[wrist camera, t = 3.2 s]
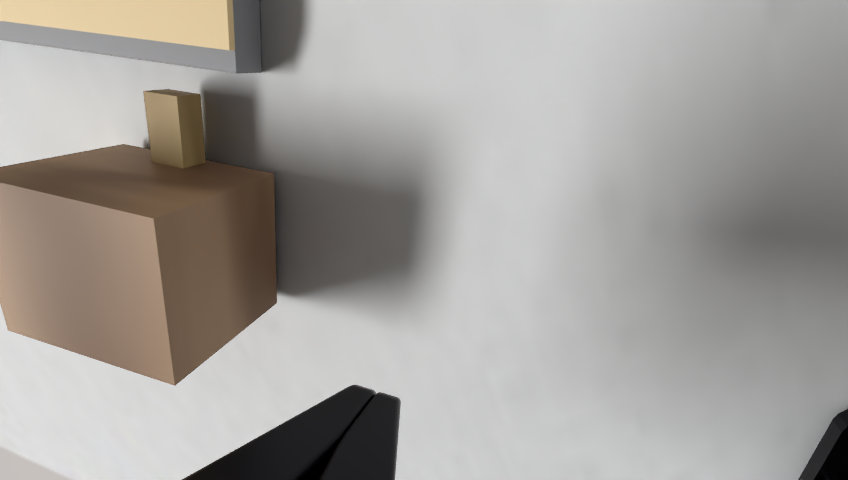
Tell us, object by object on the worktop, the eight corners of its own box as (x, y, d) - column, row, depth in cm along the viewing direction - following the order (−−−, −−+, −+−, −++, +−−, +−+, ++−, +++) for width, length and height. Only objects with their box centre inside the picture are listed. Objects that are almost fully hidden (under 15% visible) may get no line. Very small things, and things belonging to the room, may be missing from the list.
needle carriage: (272, 104, 12) (140, 123, 8) (276, 302, 14) (174, 386, 10) (114, 79, 13) (-62, 86, 9) (141, 266, 15) (8, 330, 12)
